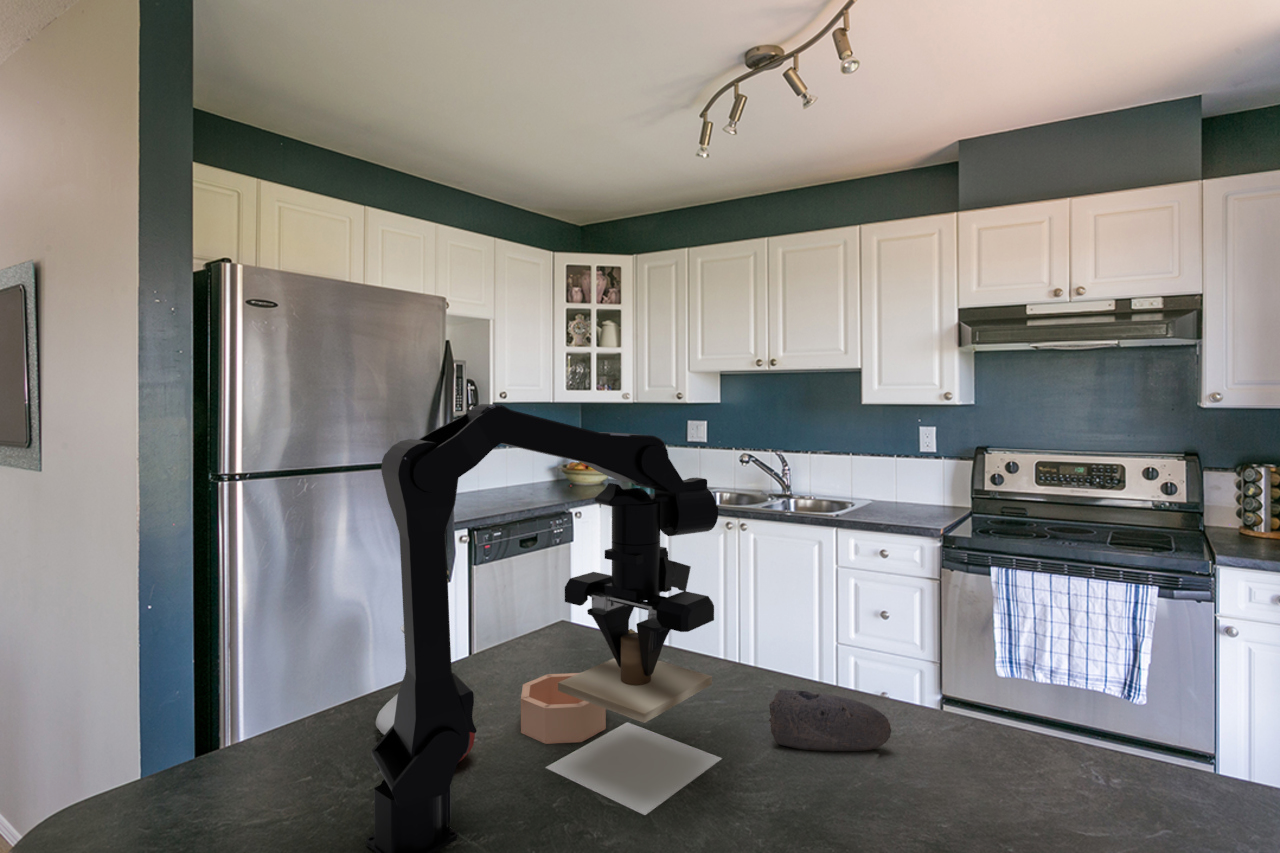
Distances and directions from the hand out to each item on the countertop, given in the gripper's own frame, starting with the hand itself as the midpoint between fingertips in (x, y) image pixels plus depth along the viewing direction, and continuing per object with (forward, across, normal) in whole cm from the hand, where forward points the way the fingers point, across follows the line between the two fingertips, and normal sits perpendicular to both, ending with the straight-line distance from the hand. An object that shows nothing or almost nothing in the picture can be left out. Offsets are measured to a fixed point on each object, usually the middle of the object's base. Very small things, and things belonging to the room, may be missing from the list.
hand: (635, 670), depth 84 cm
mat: (+12, 0, 0) cm, 12 cm away
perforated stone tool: (+12, -16, -19) cm, 28 cm away
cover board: (+2, 0, 0) cm, 2 cm away
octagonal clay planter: (+12, +14, -2) cm, 18 cm away
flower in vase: (+12, +29, +10) cm, 33 cm away
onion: (+12, +17, +14) cm, 25 cm away
